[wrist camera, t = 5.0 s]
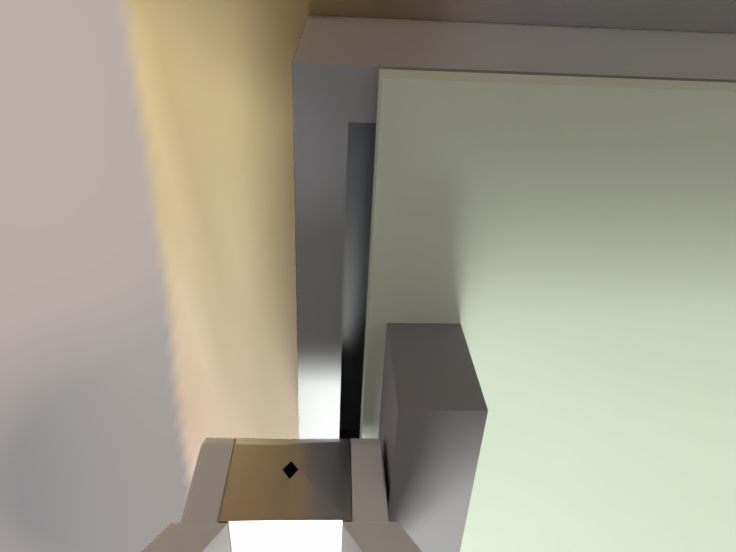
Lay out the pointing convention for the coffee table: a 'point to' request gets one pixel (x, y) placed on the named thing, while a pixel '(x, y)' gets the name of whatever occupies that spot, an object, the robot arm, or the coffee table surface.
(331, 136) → the bin
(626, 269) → the lid
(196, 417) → the coffee table surface
